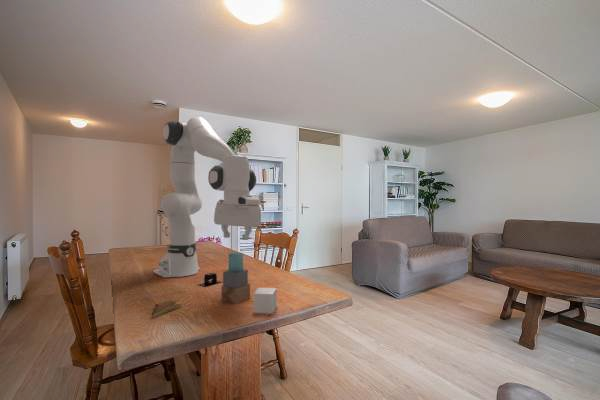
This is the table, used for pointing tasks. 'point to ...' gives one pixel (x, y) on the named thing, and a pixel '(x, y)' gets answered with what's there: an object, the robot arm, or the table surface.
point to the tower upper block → (235, 278)
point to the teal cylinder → (235, 262)
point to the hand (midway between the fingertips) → (235, 238)
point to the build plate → (209, 277)
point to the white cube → (265, 300)
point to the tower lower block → (235, 293)
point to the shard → (165, 307)
